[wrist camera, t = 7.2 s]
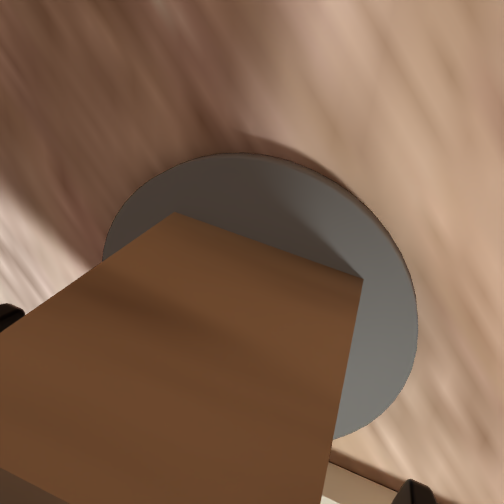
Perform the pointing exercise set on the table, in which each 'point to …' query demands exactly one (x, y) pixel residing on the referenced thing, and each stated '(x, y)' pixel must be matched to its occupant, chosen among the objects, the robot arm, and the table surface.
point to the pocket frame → (352, 488)
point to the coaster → (300, 254)
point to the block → (178, 376)
